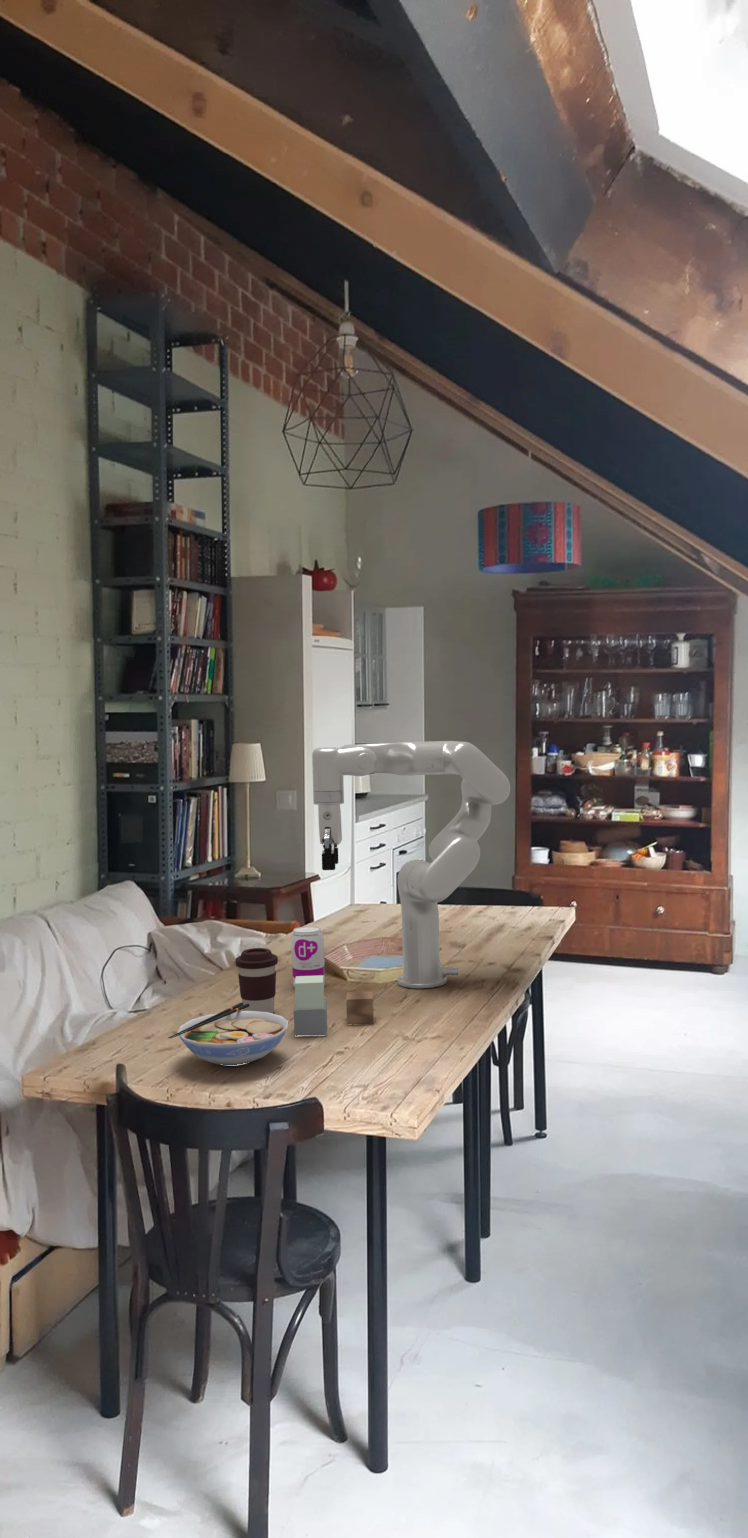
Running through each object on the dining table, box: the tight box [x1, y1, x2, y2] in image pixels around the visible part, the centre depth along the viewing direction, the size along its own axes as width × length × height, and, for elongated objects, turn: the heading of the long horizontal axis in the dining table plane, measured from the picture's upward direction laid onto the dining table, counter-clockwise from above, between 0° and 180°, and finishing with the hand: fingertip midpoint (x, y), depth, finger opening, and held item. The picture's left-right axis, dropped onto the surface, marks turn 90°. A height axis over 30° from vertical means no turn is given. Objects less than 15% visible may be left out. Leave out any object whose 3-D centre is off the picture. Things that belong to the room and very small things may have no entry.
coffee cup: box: [235, 947, 279, 1014], centre depth 266 cm, size 10×10×15 cm
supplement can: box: [290, 926, 326, 988], centre depth 288 cm, size 8×8×15 cm
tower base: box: [293, 1000, 328, 1036], centre depth 250 cm, size 7×7×6 cm
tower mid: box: [294, 975, 326, 1010], centre depth 250 cm, size 6×6×6 cm
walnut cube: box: [345, 991, 375, 1026], centre depth 257 cm, size 6×6×6 cm
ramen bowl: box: [167, 1002, 289, 1065], centre depth 232 cm, size 25×23×8 cm
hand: (330, 866), depth 277 cm, fingers open, 9 cm apart
